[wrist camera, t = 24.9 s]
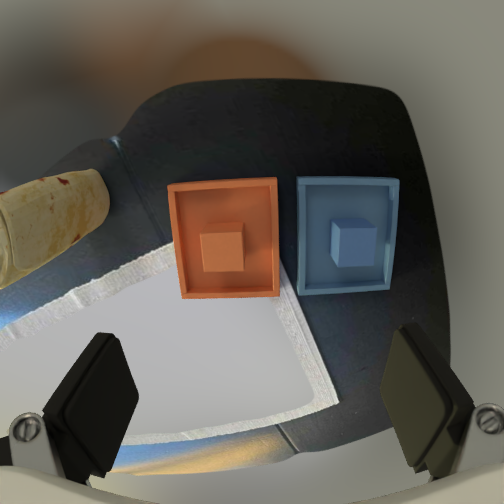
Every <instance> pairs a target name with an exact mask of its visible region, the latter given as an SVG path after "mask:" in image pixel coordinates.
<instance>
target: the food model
mask: <svg viewBox="0 0 504 504" xmlns="http://www.w3.org/2000/svg"><path fill="white" fill-rule="evenodd" d="M109 206H110V198H109V193H108V190H107V187H106V185H105V183H104V181H103V179H102V177H101V175H100V174H99V172H97V171H96V170H93V169H89V170H85V171H74V172H68V173H64V174H60V175H56V176H51V177H45V178H41V179H38V180H35V181H32V182H29V183H26V184H23V185H20V186H18V187H16V188H13V189H10V190H8V191H5V192H1V193H0V289H3V288H5V287H7V286H8V285H10V284H12V283H14V282H15V281H17V280H19V279H21V278H22V277H24V276H26V275H27V274H29V273H31V272H32V271H34V270H36V269H37V268H39V267H41V266H42V265H44V264H46V263H47V262H49V261H50V260H52V259H53V258H55V257H56V256H58V255H59V254H61V253H62V252H64V251H65V250H67V249H68V248H70V247H71V246H72V245H74V244H75V243H77V242H78V241H79V240H80V239H81V238H82V237H84V236H85V235H86V234H88V233H90V232H91V231H93V230H94V229H96V228H97V227H98V226H99V225H101V224H102V223H103V222H104V220H105V218H106V216H107V214H108V211H109Z"/></svg>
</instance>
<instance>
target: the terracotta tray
mask: <svg viewBox="0 0 504 504" xmlns="http://www.w3.org/2000/svg"><path fill="white" fill-rule="evenodd" d="M168 197H169V207H170V216H171V225H172V233H173V241H174V249H175V256H176V263H177V270H178V276H179V283H180V289H181V296H182V299H201V298H202V299H205V298H246V297H247V298H248V297H275V296H280V276H279V223H278V189H277V178H276V177H264V178H242V179H224V180H209V181H195V182H183V183H172V184H170V185H168ZM227 222H244V236H245V254H246V258H245V267H244V271H225V272H204V266H203V257H202V248H201V238H200V233H201V232H202V230H203V229H204V227H205V226H206V224H207V223H227Z"/></svg>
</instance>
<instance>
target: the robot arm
mask: <svg viewBox="0 0 504 504" xmlns="http://www.w3.org/2000/svg"><path fill="white" fill-rule="evenodd" d="M380 394H381V397H382V399H383V402H384V404H385V407H386V409H387V412H388V414H389V417H390V419H391V422H392V424H393V427H394V429H395V432H396V434H397V437H398V439H399V442H400V445H401V447H402V450H403V453H404V455H405V458H406V461H407V463H408V465H409V466H410V467H413V468H414V471H415V473H419V472H422V471H425V470H429V472H430V475H431V476H430V479H429V481H428V483H427V484H424V485H421V486H417V487H414V488H411V489H407V490H404V491H400V492H396V493H393V494H389V495H385V496H381V497H377V498H373V499H369V500H364V501H359V502H353V503H348V504H504V409H503V408H502V407H500V406H499V405H496V404H493V403H485V404H481V405H479V406H477V407H475V406H474V404H473V402H474V401H473V400H472V398H471V397H470V395H469V394H468V392H467V391H466V389H465V388H464V386H463V385H462V383H461V382H460V380H459V379H458V378H457V376H456V375H455V373H454V372H453V371H452V369H451V368H450V366H449V365H448V363H447V362H446V361H445V359H444V358H443V356H442V355H441V354H440V352H439V351H438V350H437V348H436V347H435V346H434V344H433V343H432V342H431V340H430V339H429V338H428V336H427V335H426V334H425V332H424V331H423V330H422V328H421V327H420V326H419V325H418V324H417V323H409V324H402V325H400V327H399V329H397V330H395V332H394V336H393V340H392V344H391V348H390V352H389V356H388V360H387V364H386V367H385V371H384V375H383V378H382V382H381V385H380ZM138 400H139V394H138V390H137V388H136V385H135V383H134V380H133V378H132V375H131V372H130V369H129V366H128V364H127V361H126V358H125V355H124V352H123V349H122V346H121V343H120V340H119V339H118V338H116V337H115V335H114V334H112V333H101V332H100V333H97V334H96V335H95V336H94V337H93V339H92V340H91V341H90V343H89V344H88V345H87V347H86V348H85V349H84V351H83V352H82V353H81V355H80V356H79V358H78V359H77V360H76V362H75V363H74V365H73V366H72V367H71V369H70V370H69V372H68V373H67V374H66V376H65V377H64V379H63V380H62V382H61V383H60V385H59V386H58V388H57V389H56V390H55V392H54V393H53V395H52V396H51V398H50V399H49V401H48V402H47V404H46V405H45V407H44V408H43V410H42V411H43V412H44V415H43V417H41V416H40V415H38V414H36V413H31V412H30V413H24V414H21V415H19V416H18V417H17V418H15V419H14V421H13V422H12V423H11V425H10V428H9V436H6V437H3V438H0V504H158V503H152V502H147V501H142V500H138V499H133V498H129V497H124V496H120V495H116V494H113V493H109V492H106V491H102V490H98V489H95V488H92V487H91V484H90V482H89V476H90V474H91V475H94V476H97V477H101V478H105V475H106V472H109V471H110V470H111V469H112V467H113V464H114V461H115V459H116V456H117V453H118V451H119V448H120V445H121V443H122V440H123V438H124V435H125V433H126V430H127V428H128V425H129V423H130V420H131V417H132V415H133V413H134V410H135V408H136V405H137V403H138Z"/></svg>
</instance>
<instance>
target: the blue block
mask: <svg viewBox="0 0 504 504" xmlns="http://www.w3.org/2000/svg"><path fill="white" fill-rule="evenodd" d="M376 237H377V227H375V226H374V225H373V224H371V223H370V222H368V221H367V220H366V219H364V218H357V219H330V247H329V254H330V255H331V257H332V259H333V260H334V262H335V263H336V265H337V267H349V266H368V265H374V260H375V249H376Z"/></svg>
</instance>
